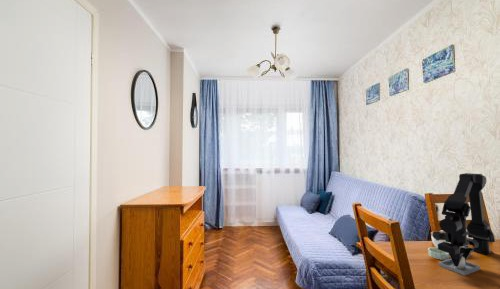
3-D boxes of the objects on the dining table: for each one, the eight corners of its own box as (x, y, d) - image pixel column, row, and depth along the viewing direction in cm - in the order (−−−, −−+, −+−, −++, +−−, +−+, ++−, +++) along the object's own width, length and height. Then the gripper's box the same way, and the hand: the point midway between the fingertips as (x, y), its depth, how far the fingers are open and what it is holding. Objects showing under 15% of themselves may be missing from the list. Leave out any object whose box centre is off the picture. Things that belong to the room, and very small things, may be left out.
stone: (456, 264, 101) (455, 254, 101) (467, 268, 98) (467, 257, 98) (450, 266, 100) (450, 255, 100) (462, 270, 96) (461, 259, 96)
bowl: (434, 252, 114) (434, 246, 114) (452, 258, 107) (452, 252, 107) (424, 255, 111) (424, 249, 112) (442, 262, 104) (442, 255, 105)
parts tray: (454, 261, 105) (454, 257, 105) (480, 270, 97) (480, 266, 97) (438, 266, 100) (438, 262, 101) (464, 276, 92) (464, 272, 92)
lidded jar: (464, 255, 111) (463, 235, 111) (439, 253, 113) (438, 234, 113) (450, 246, 121) (449, 228, 122) (427, 244, 124) (426, 227, 124)
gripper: (448, 220, 110) (449, 253, 110) (423, 226, 103) (424, 261, 103) (478, 227, 100) (480, 264, 99) (453, 234, 93) (454, 273, 92)
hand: (458, 265), depth 99 cm, fingers closed on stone, 4 cm apart
